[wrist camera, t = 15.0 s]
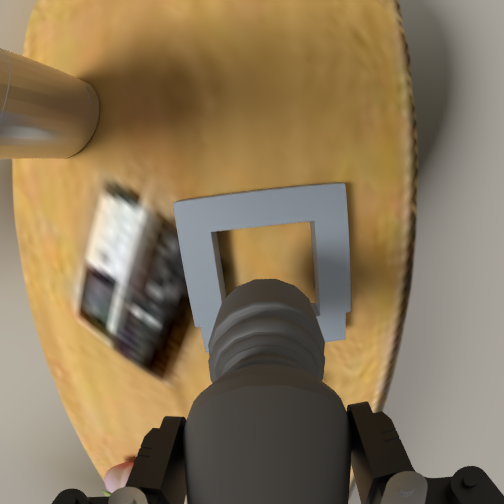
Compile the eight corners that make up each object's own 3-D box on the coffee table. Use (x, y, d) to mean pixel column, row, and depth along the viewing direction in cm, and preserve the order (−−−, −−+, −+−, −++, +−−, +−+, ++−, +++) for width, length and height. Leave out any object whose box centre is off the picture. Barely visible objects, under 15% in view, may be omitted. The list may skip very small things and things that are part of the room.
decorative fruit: (131, 476, 42) (115, 516, 32) (108, 448, 40) (87, 490, 30) (176, 479, 41) (164, 523, 31) (155, 451, 39) (138, 499, 29)
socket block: (210, 360, 34) (206, 375, 31) (181, 199, 29) (173, 202, 26) (343, 348, 33) (349, 362, 30) (337, 182, 28) (345, 183, 25)
